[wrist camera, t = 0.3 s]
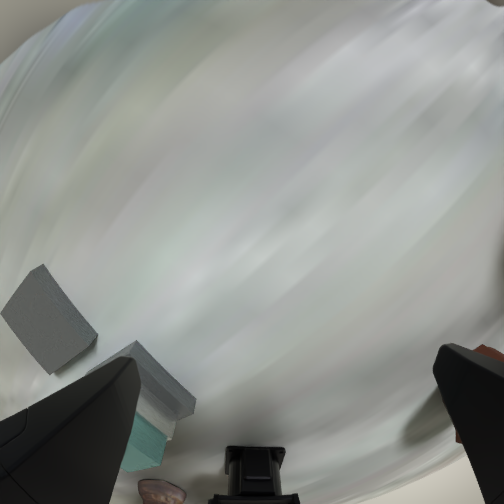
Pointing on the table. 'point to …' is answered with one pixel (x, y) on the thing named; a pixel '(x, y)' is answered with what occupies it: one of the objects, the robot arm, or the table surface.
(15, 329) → the stand
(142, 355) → the stand
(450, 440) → the table surface
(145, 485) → the mortar and pestle
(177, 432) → the table surface
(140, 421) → the housing
